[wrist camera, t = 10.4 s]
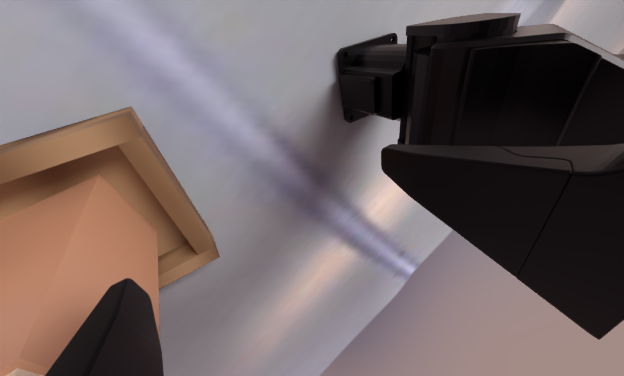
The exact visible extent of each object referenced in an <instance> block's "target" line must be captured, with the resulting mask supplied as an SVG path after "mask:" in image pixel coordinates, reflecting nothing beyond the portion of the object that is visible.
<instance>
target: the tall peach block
mask: <svg viewBox="0 0 624 376" xmlns="http://www.w3.org/2000/svg"><path fill="white" fill-rule="evenodd" d="M125 278H131V279H132V280H134V281H135V282H136V283H137V284H138V285H139V286H140V287H141V288H142V289H144V290H145V291H146V292H147V293H148V295H149V296H150V298H151V302H152V307H153V311H154V316H155V321H156V326H157V330H158V335H159V340H160V327H159V286H158V244H157V229H156V228H155V227H154V226H153V225H152V224H151V223H150V222H149V221H147V220H146V219H145V218H144V217H143V216H142V215H141V214H140V213H139V212H138V211H137V210H136V209H135V208H134V207H133V206H132V205H131V204H130V203H129V202H128V201H127V200H126V199H125V198H124V197H123V196H122V195H121V194H119V193H118V192H117V191H116V190H115V189H114V188H113V187H112V186H111V185H110V184H109V183H108V182H107V181H106V180H105V179H104V178H103V177H102V176H101V175H100V174H98V175H96V176H94V177H92V178H89V179H87V180H85V181H83V182H81V183H79V184H77V185H74V186H72V187H70V188H68V189H66V190H64V191H61V192H59V193H57V194H55V195H53V196H51V197H49V198H46V199H44V200H42V201H40V202H38V203H36V204H34V205H31V206H29V207H27V208H25V209H23V210H21V211H19V212H16V213H14V214H12V215H10V216H8V217H6V218H4V219H1V220H0V376H45V374H46V373H47V372H48V370H49V369H50V368H51V366H52V365H53V364H54V362H55V361H56V359H57V358H58V357H59V355H60V354H61V353H62V351H63V350H64V349H65V347H66V346H67V344H68V343H69V342H70V340H71V339H72V338H73V336H74V335H75V334H76V332H77V331H78V329H79V328H80V327H81V325H82V324H83V323H84V321H85V320H86V319H87V317H88V316H89V314H90V313H91V312H92V310H93V309H94V308H95V306H96V305H97V304H98V302H99V301H100V299H101V298H102V297H103V295H104V294H105V293H106V291H107V290H108V289H109V287H110V286H112V285H113V284H115V283H117V282H119V281H121V280H123V279H125Z"/></svg>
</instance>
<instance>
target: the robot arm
mask: <svg viewBox="0 0 624 376" xmlns="http://www.w3.org/2000/svg"><path fill="white" fill-rule="evenodd" d="M520 15H521V14H520V13H484V14H476V15H468V16H460V17H452V18H447V19H441V20H436V21H431V22H425V23H420V24H415V25H410V26H407V27H406V35H407V44H397V35H396V34H395V33H390V34H387V35H383V36H380V37H377V38H373V39H370V40H367V41H364V42H360V43H357V44H354V45H350V46H347V47H344V48H341V49H340V50H339V52H338V63H339V72H340V86H341V95H342V104H343V108H344V117H345V121H347V122H349V123H351V122H354V121H356V120H358V119H361V118H363V117H365V116H368V115H370V114H371V115H377V116H380V117H384V118H387V119H391V120H397V121H400V133H399V139H398V144H391V145H389V146H387V147H385V148H383V149H382V151H381V166H382V170H383V172H384V173H385V174H386V175H387V176H388V177H389V178H391V179H392V180H393V181H394V182H395V183H396V184H397V185H398V186H399V187H400V188H401V189H402V190H403V191H404V192H406V193H407V194H408V195H409V196H410V197H411V198H413V199H414V200H415V201H416V202H418V203H419V204H420V205H422V206H423V207H424V208H426V209H427V210H428V211H429V212H431V213H432V214H433V215H435V216H436V217H437V218H439V219H440V220H441V221H443V222H444V223H445V224H447V225H448V226H449V227H450V228H452V229H453V230H454V231H456V232H457V233H458V234H460V235H461V236H462V237H464V238H465V239H466V240H468V241H469V242H470V243H471V244H473V245H474V246H475V247H477V248H478V249H479V250H481V251H482V252H483V253H485V254H486V255H487V256H489V257H490V258H491V259H493V260H494V261H495V262H496V263H498V264H499V265H500V266H502V267H503V268H504V269H506V270H507V271H508V272H510V273H511V274H512V275H514V276H515V277H516V278H517V279H518V280H520V281H521V282H522V283H524V284H525V285H526V286H528V287H529V288H530V289H532V290H533V291H534V292H535V293H537V294H538V295H539V296H541V297H542V298H543V299H545V300H546V301H547V302H549V303H550V304H551V305H553V306H554V307H555V308H557V309H558V310H559V311H560V312H562V313H563V314H564V315H566V316H567V317H568V318H570V319H571V320H572V321H574V322H575V323H576V324H578V325H579V326H580V327H581V328H583V329H584V330H585V331H587V332H588V333H589V334H591V335H592V336H594V337H596V338H597V339H601V338H602V337H604V336H605V335H606V334H607V333H608V332H610V331H611V330H612V329H613V328H614V327H616V326H617V325H618V324H619V323H621V322H622V321H623V320H624V54H623V55H622V54H621V55H616V54H612V53H610V52H608V51H606V50H604V49H602V48H600V47H598V46H596V45H595V44H593V43H591V42H589V41H587V40H585V39H583V38H581V37H579V36H577V35H575V34H573V33H571V32H569V31H567V30H565V29H563V28H561V27H559V26H557V25H554V24H543V25H531V26H520V27H517V25H518V22H519V18H520ZM391 39H392V41H391ZM344 52H345V56H344V57H343V53H344ZM350 115H351V117H350ZM349 117H350V119H349ZM45 376H164V374H163V361H162V351H161V345H160V340H159V335H158V330H157V326H156V321H155V316H154V311H153V307H152V302H151V298H150V296H149V295H148V293H147V292H146V291H145V290H144V289H142V288H141V287H140V286H139V285H138V284H137V283H136V282H135V281H134V280H132V279H131V278H125V279H123V280H121V281H119V282H117V283H115V284H113V285H112V286H110V287H109V289H108V290H107V291H106V293H105V294H104V295H103V297H102V298H101V299H100V301H99V302H98V304H97V305H96V306H95V308H94V309H93V310H92V312H91V313H90V314H89V316H88V317H87V319H86V320H85V321H84V323H83V324H82V325H81V327H80V328H79V329H78V331H77V332H76V334H75V335H74V336H73V338H72V339H71V340H70V342H69V343H68V344H67V346H66V347H65V349H64V350H63V351H62V353H61V354H60V355H59V357H58V358H57V359H56V361H55V362H54V364H53V365H52V366H51V368H50V369H49V370H48V372H47V373H46V374H45Z"/></svg>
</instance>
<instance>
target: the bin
mask: <svg viewBox="0 0 624 376" xmlns="http://www.w3.org/2000/svg"><path fill="white" fill-rule="evenodd" d="M98 174H100V175H101V176H102V177H103V178H104V179H105V180H106V181H107V182H108V183H109V184H110V185H111V186H112V187H113V188H114V189H115V190H116V191H117V192H118V193H119V194H121V195H122V196H123V197H124V198H125V199H126V200H127V201H128V202H129V203H130V204H131V205H132V206H133V207H134V208H135V209H136V210H137V211H138V212H139V213H140V214H141V215H142V216H143V217H144V218H145V219H146V220H147V221H149V222H150V223H151V224H152V225H153V226H154V227H155V228H156V229H157V244H158V286H159V289H161V288H163V287H164V286H166V285H168V284H170V283H172V282H174V281H176V280H177V279H179V278H181V277H183V276H185V275H187V274H189V273H190V272H192V271H194V270H196V269H198V268H200V267H202V266H203V265H205V264H207V263H209V262H211V261H213V260H215V259H216V258H218V257H220V256H219V253H218V250H217V247H216V244H215V241H214V238H213V235H212V234H211V232H210V230H209V229H208V227H207V226H206V224H205V222H204V221H203V219H202V218H201V216H200V215H199V213H198V211H197V210H196V208H195V207H194V205H193V203H192V202H191V200H190V199H189V197H188V196H187V194H186V192H185V191H184V189H183V188H182V186H181V184H180V183H179V181H178V180H177V178H176V176H175V175H174V173H173V172H172V170H171V169H170V167H169V165H168V164H167V162H166V161H165V159H164V157H163V156H162V154H161V153H160V151H159V150H158V148H157V146H156V145H155V143H154V142H153V140H152V138H151V137H150V135H149V134H148V132H147V130H146V129H145V127H144V126H143V124H142V123H141V121H140V119H139V118H138V116H137V115H136V113H135V111H134V110H133V108H132V107H128V108H125V109H121V110H118V111H115V112H111V113H108V114H104V115H101V116H98V117H94V118H91V119H88V120H84V121H81V122H77V123H74V124H71V125H67V126H64V127H61V128H57V129H54V130H50V131H47V132H44V133H40V134H37V135H34V136H30V137H27V138H23V139H20V140H17V141H13V142H10V143H6V144H3V145H0V220H1V219H4V218H6V217H8V216H10V215H12V214H14V213H16V212H19V211H21V210H23V209H25V208H27V207H29V206H31V205H34V204H36V203H38V202H40V201H42V200H44V199H46V198H49V197H51V196H53V195H55V194H57V193H59V192H61V191H64V190H66V189H68V188H70V187H72V186H74V185H77V184H79V183H81V182H83V181H85V180H87V179H89V178H92V177H94V176H96V175H98Z"/></svg>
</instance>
